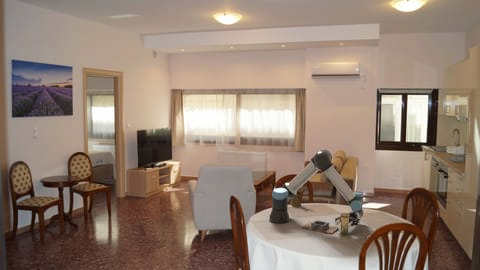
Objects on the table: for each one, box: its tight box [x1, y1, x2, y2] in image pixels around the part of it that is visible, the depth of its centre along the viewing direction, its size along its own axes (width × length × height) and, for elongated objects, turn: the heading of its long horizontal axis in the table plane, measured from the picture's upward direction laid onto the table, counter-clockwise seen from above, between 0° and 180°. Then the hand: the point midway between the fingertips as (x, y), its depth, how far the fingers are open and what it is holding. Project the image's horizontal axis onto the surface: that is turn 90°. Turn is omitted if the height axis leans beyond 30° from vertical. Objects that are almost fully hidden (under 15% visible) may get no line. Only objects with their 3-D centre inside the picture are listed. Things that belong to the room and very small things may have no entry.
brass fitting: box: [339, 212, 350, 237], centre depth 265 cm, size 6×6×14 cm
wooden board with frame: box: [301, 219, 340, 235], centre depth 277 cm, size 22×14×4 cm, turn 57°
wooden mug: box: [289, 185, 306, 207], centre depth 340 cm, size 9×14×18 cm, turn 55°
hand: (342, 224), depth 261 cm, fingers open, 8 cm apart
